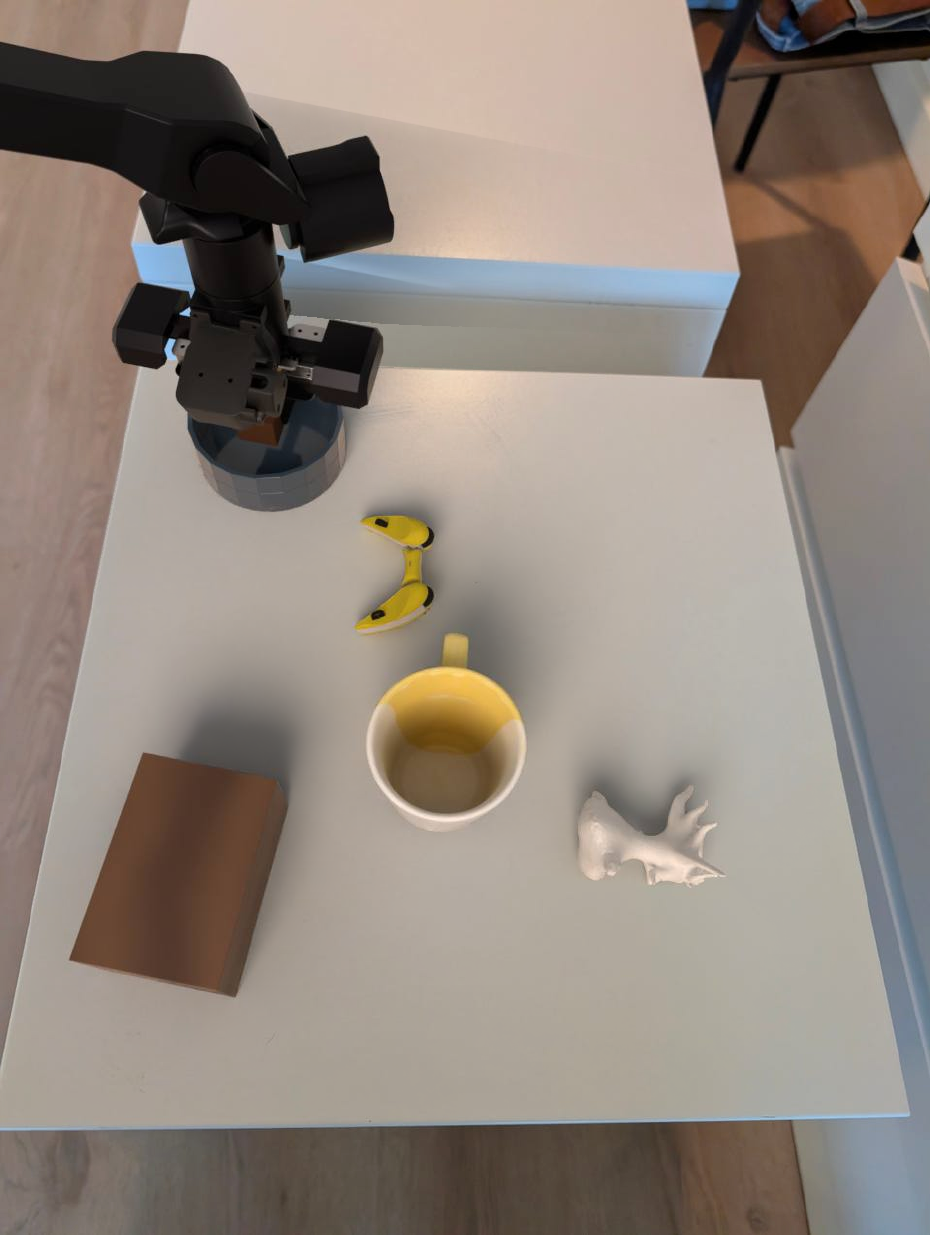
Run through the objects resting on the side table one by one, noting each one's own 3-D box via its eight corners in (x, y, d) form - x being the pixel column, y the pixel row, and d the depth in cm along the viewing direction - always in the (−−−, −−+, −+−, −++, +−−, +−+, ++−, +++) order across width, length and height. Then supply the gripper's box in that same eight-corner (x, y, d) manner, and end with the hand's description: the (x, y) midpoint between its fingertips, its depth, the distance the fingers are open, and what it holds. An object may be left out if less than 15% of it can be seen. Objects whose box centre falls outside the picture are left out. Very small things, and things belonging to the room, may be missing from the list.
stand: (102, 969, 60) (68, 960, 54) (166, 780, 66) (142, 752, 60) (235, 997, 60) (216, 991, 54) (288, 805, 66) (277, 779, 59)
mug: (487, 872, 65) (503, 842, 55) (350, 829, 65) (343, 792, 56) (535, 699, 71) (557, 644, 61) (409, 661, 71) (411, 601, 62)
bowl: (179, 495, 76) (166, 460, 72) (224, 381, 81) (214, 341, 77) (325, 524, 76) (320, 491, 71) (360, 408, 81) (358, 370, 77)
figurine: (560, 771, 67) (693, 746, 66) (579, 851, 70) (705, 829, 69) (573, 860, 58) (727, 833, 57) (594, 948, 61) (740, 924, 60)
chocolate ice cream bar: (238, 439, 74) (232, 417, 71) (268, 355, 77) (263, 331, 75) (277, 447, 74) (272, 425, 71) (305, 362, 77) (301, 338, 75)
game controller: (442, 632, 71) (427, 613, 68) (367, 642, 73) (349, 625, 70) (443, 522, 76) (428, 500, 73) (372, 535, 77) (355, 514, 74)
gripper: (50, 332, 57) (119, 474, 71) (343, 389, 57) (354, 521, 71) (113, 209, 62) (165, 365, 76) (383, 261, 61) (386, 408, 76)
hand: (265, 415), depth 74 cm, fingers closed on chocolate ice cream bar, 3 cm apart
